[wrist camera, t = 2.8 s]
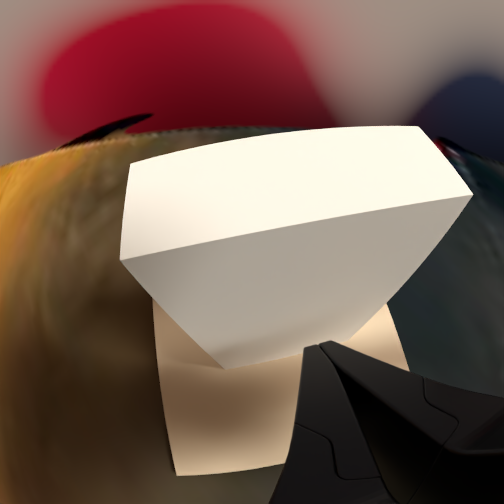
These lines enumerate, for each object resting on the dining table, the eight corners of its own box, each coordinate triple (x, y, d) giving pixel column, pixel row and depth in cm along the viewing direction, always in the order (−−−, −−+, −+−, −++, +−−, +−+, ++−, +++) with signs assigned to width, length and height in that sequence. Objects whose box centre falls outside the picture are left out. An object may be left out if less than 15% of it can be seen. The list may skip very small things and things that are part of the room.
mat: (417, 414, 12) (420, 414, 12) (179, 474, 11) (176, 475, 11) (312, 152, 24) (312, 148, 23) (154, 181, 23) (153, 178, 23)
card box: (347, 340, 15) (472, 194, 5) (225, 369, 14) (119, 260, 4) (335, 302, 16) (416, 124, 6) (217, 328, 16) (130, 162, 5)
